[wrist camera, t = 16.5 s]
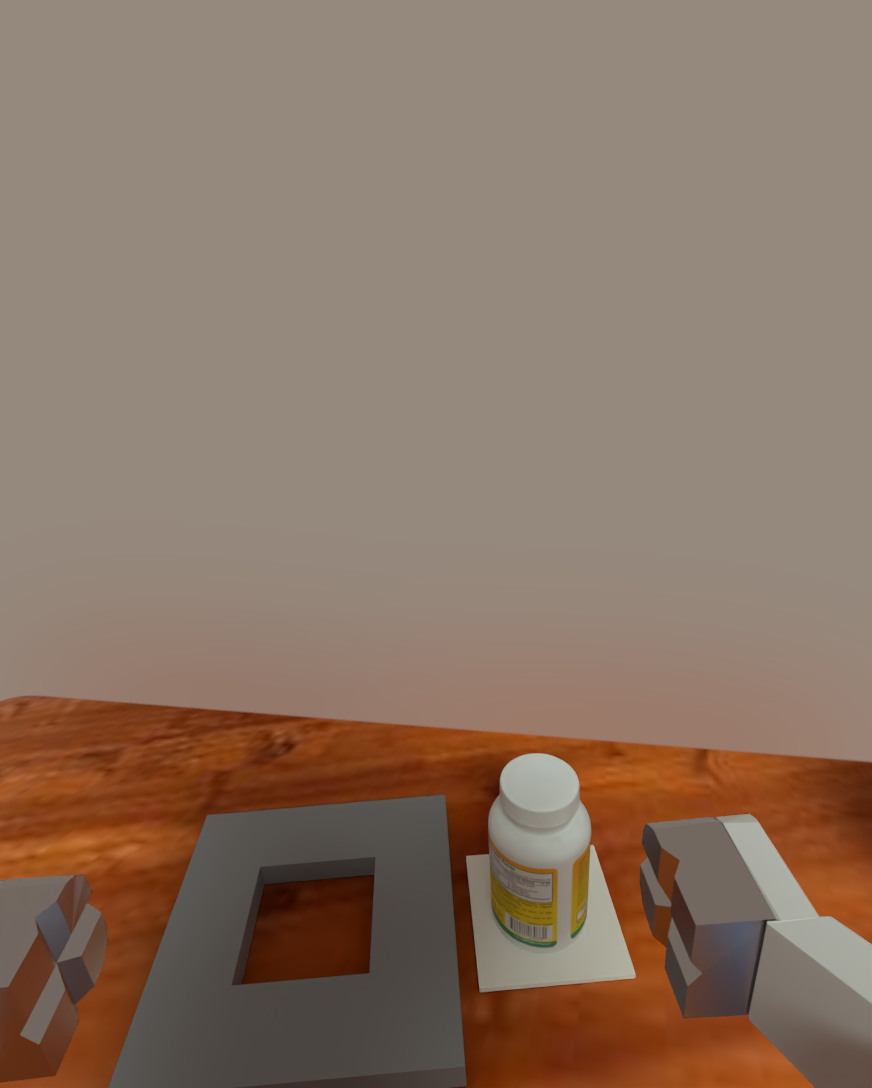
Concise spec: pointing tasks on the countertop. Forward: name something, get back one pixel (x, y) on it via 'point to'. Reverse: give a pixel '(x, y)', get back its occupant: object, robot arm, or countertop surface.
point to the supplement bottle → (539, 854)
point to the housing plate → (317, 1003)
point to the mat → (516, 968)
